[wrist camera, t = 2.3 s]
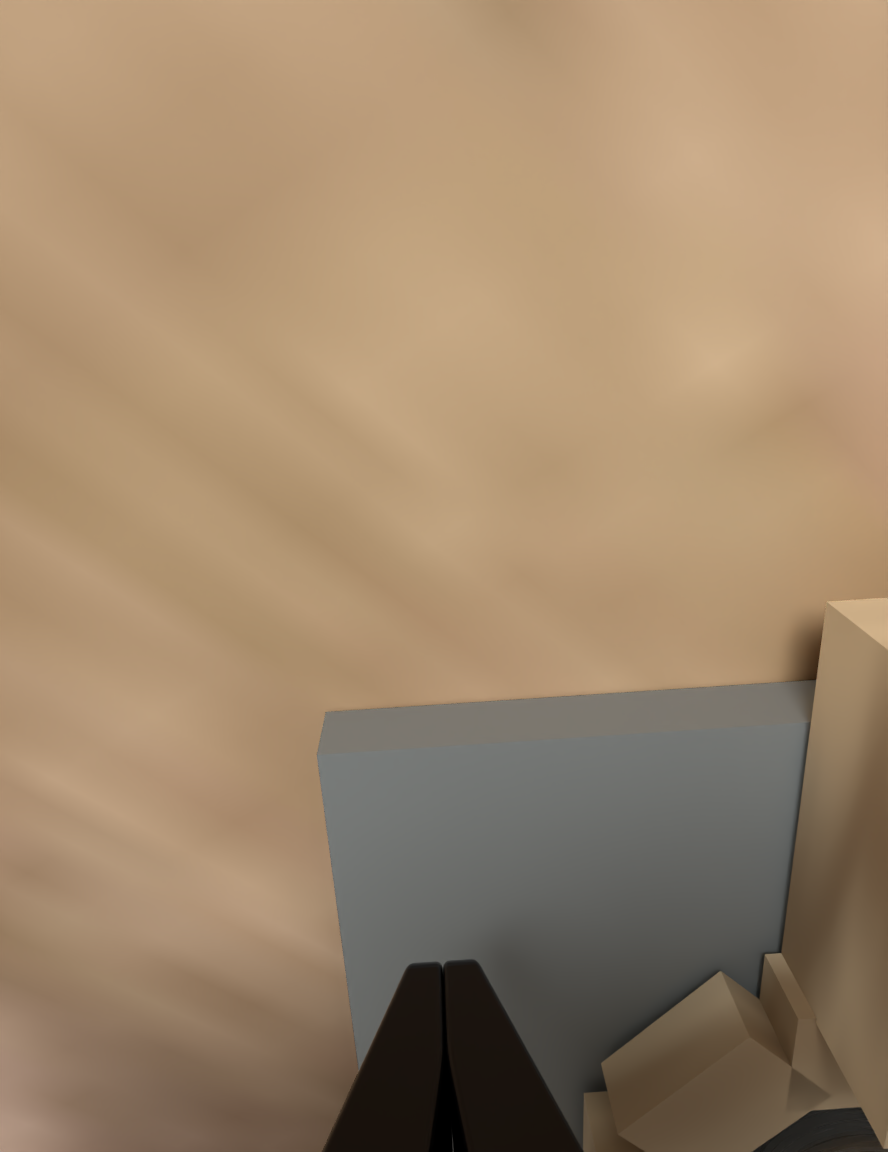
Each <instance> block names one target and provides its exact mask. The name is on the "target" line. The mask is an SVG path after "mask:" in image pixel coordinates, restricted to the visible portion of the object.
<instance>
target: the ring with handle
mask: <svg viewBox="0 0 888 1152" xmlns="http://www.w3.org/2000/svg"><path fill="white" fill-rule="evenodd" d="M601 1066H602V1070H603V1074H604V1078H605V1083H606V1087H607V1091H604V1092H590V1093H584V1114H583V1151H584V1152H752V1151H754V1150H755V1149H757V1148H758V1147H759V1146H761V1145H762V1144H764V1143H765V1142H767V1141H768V1140H770V1139H771V1138H772V1137H774V1136H775V1135H777V1134H778V1133H780V1132H781V1131H783V1130H784V1129H785V1128H787V1127H788V1126H790V1125H791V1124H793V1123H794V1122H796V1121H797V1120H799V1119H800V1118H801V1117H803V1116H804V1115H806V1114H807V1113H809V1112H810V1111H813V1110H827V1109H841V1108H855V1107H861V1108H862V1110H863V1112H864V1114H865V1115H866V1117H867V1119H868V1121H869V1123H870V1125H871V1127H872V1128H873V1130H874V1132H875V1134H876V1136H877V1138H878V1140H879V1141H880V1143H881V1145H882V1147H883V1149H888V598H875V599H860V600H844V601H828V602H826V609H825V617H824V625H823V633H822V640H821V648H820V656H819V664H818V671H817V679H816V687H815V695H814V703H813V710H812V718H811V726H810V734H809V741H808V749H807V757H806V765H805V772H804V780H803V788H802V796H801V804H800V811H799V819H798V827H797V835H796V842H795V850H794V858H793V866H792V874H791V881H790V889H789V897H788V905H787V912H786V920H785V928H784V936H783V943H782V951H781V953H775V954H765V956H764V965H763V973H762V982H761V990H760V999H758V998H757V997H755V996H754V995H753V994H751V993H750V992H749V991H747V990H746V989H745V988H743V987H742V986H741V985H739V984H738V983H737V982H735V981H734V980H732V979H731V978H730V977H728V976H727V975H726V974H724V973H723V972H722V971H720V972H718V973H717V974H716V975H714V976H713V977H712V978H711V979H709V980H708V981H707V982H705V983H704V984H703V985H701V986H700V987H699V988H698V989H696V990H695V991H694V992H692V993H691V994H690V995H689V996H687V997H686V998H685V999H683V1000H682V1001H681V1002H680V1003H678V1004H677V1005H676V1006H674V1007H673V1008H672V1009H670V1010H669V1011H668V1012H667V1013H665V1014H664V1015H663V1016H661V1017H660V1018H659V1019H658V1020H656V1021H655V1022H654V1023H652V1024H651V1025H650V1026H648V1027H647V1028H646V1029H645V1030H643V1031H642V1032H641V1033H639V1034H638V1035H637V1036H636V1037H634V1038H633V1039H632V1040H630V1041H629V1042H628V1043H626V1044H625V1045H624V1046H623V1047H621V1048H620V1049H619V1050H617V1051H616V1052H615V1053H614V1054H612V1055H611V1056H610V1057H608V1058H607V1059H606V1060H605V1061H603V1062H602V1063H601Z"/></svg>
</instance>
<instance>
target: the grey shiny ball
mask: <svg viewBox="0 0 888 1152" xmlns="http://www.w3.org/2000/svg"><path fill="white" fill-rule="evenodd" d="M752 1152H888V1149H883V1147H882V1145H881V1143H880V1141H879V1140H878V1138H877V1136H876V1134H875V1132H874V1130H873V1128H872V1127H871V1125H870V1123H869V1121H868V1119H867V1117H866V1115H865V1114H864V1112H863V1110H862V1108H861V1107H855V1108H841V1109H827V1110H813V1111H810V1112H809V1113H807V1114H806V1115H804V1116H803V1117H801V1118H800V1119H799V1120H797V1121H796V1122H794V1123H793V1124H791V1125H790V1126H788V1127H787V1128H785V1129H784V1130H783V1131H781V1132H780V1133H778V1134H777V1135H775V1136H774V1137H772V1138H771V1139H770V1140H768V1141H767V1142H765V1143H764V1144H762V1145H761V1146H759V1147H758V1148H757V1149H755V1150H754V1151H752Z"/></svg>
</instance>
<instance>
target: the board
mask: <svg viewBox="0 0 888 1152" xmlns="http://www.w3.org/2000/svg"><path fill="white" fill-rule="evenodd" d="M815 687H816V680H808V681H793V682H777V683H762V684H747V685H731V686H716V687H701V688H686V689H670V690H655V691H640V692H625V693H609V694H594V695H579V696H563V697H548V698H533V699H518V700H502V701H487V702H472V703H457V704H441V705H426V706H411V707H395V708H380V709H365V710H350V711H334V712H326V714H325V718H324V723H323V728H322V733H321V738H320V742H319V747H318V752H317V759H318V767H319V774H320V782H321V790H322V797H323V805H324V812H325V820H326V827H327V835H328V842H329V850H330V857H331V865H332V873H333V880H334V888H335V895H336V903H337V910H338V918H339V925H340V933H341V940H342V948H343V956H344V963H345V971H346V978H347V986H348V993H349V1001H350V1008H351V1016H352V1023H353V1031H354V1039H355V1046H356V1054H357V1061H358V1069H360V1067H361V1065H362V1063H363V1061H364V1059H365V1056H366V1054H367V1052H368V1050H369V1048H370V1045H371V1043H372V1041H373V1039H374V1037H375V1034H376V1032H377V1030H378V1028H379V1026H380V1024H381V1021H382V1019H383V1017H384V1015H385V1013H386V1010H387V1008H388V1006H389V1004H390V1002H391V999H392V997H393V995H394V993H395V991H396V989H397V986H398V984H399V982H400V980H401V978H402V975H403V973H404V971H405V969H406V968H407V966H408V965H410V964H411V963H420V962H434V961H437V962H439V963H441V965H442V967H443V965H444V963H445V962H446V961H449V960H463V959H475V960H476V961H477V962H478V963H479V964H480V965H481V967H482V969H483V971H484V972H485V974H486V976H487V978H488V980H489V981H490V983H491V985H492V987H493V989H494V990H495V992H496V994H497V996H498V998H499V999H500V1001H501V1003H502V1005H503V1007H504V1008H505V1010H506V1012H507V1014H508V1016H509V1017H510V1019H511V1021H512V1023H513V1025H514V1026H515V1028H516V1030H517V1032H518V1034H519V1035H520V1037H521V1039H522V1041H523V1043H524V1044H525V1046H526V1048H527V1050H528V1052H529V1053H530V1055H531V1057H532V1059H533V1061H534V1062H535V1064H536V1066H537V1068H538V1070H539V1071H540V1073H541V1075H542V1077H543V1079H544V1080H545V1082H546V1084H547V1086H548V1088H549V1089H550V1091H551V1093H552V1095H553V1097H554V1098H555V1100H556V1102H557V1104H558V1106H559V1107H560V1109H561V1111H562V1113H563V1115H564V1116H565V1118H566V1120H567V1122H568V1124H569V1125H570V1127H571V1129H572V1131H573V1133H574V1134H575V1136H576V1138H577V1140H578V1142H579V1143H580V1145H581V1147H582V1149H583V1114H584V1093H590V1092H604V1091H607V1087H606V1083H605V1078H604V1074H603V1070H602V1066H601V1063H602V1062H603V1061H605V1060H606V1059H607V1058H608V1057H610V1056H611V1055H612V1054H614V1053H615V1052H616V1051H617V1050H619V1049H620V1048H621V1047H623V1046H624V1045H625V1044H626V1043H628V1042H629V1041H630V1040H632V1039H633V1038H634V1037H636V1036H637V1035H638V1034H639V1033H641V1032H642V1031H643V1030H645V1029H646V1028H647V1027H648V1026H650V1025H651V1024H652V1023H654V1022H655V1021H656V1020H658V1019H659V1018H660V1017H661V1016H663V1015H664V1014H665V1013H667V1012H668V1011H669V1010H670V1009H672V1008H673V1007H674V1006H676V1005H677V1004H678V1003H680V1002H681V1001H682V1000H683V999H685V998H686V997H687V996H689V995H690V994H691V993H692V992H694V991H695V990H696V989H698V988H699V987H700V986H701V985H703V984H704V983H705V982H707V981H708V980H709V979H711V978H712V977H713V976H714V975H716V974H717V973H718V972H720V971H722V972H723V973H724V974H726V975H727V976H728V977H730V978H731V979H732V980H734V981H735V982H737V983H738V984H739V985H741V986H742V987H743V988H745V989H746V990H747V991H749V992H750V993H751V994H753V995H754V996H755V997H757V998H758V999H760V990H761V982H762V973H763V965H764V956H765V954H775V953H781V951H782V943H783V936H784V928H785V920H786V912H787V905H788V897H789V889H790V881H791V874H792V866H793V858H794V850H795V842H796V835H797V827H798V819H799V811H800V804H801V796H802V788H803V780H804V772H805V765H806V757H807V749H808V741H809V734H810V726H811V718H812V710H813V703H814V695H815ZM452 1142H453V1138H452Z"/></svg>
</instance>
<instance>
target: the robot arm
mask: <svg viewBox="0 0 888 1152" xmlns="http://www.w3.org/2000/svg"><path fill="white" fill-rule="evenodd" d="M452 1138H453V1142H452ZM322 1152H584V1151H583V1149H582V1147H581V1145H580V1143H579V1142H578V1140H577V1138H576V1136H575V1134H574V1133H573V1131H572V1129H571V1127H570V1125H569V1124H568V1122H567V1120H566V1118H565V1116H564V1115H563V1113H562V1111H561V1109H560V1107H559V1106H558V1104H557V1102H556V1100H555V1098H554V1097H553V1095H552V1093H551V1091H550V1089H549V1088H548V1086H547V1084H546V1082H545V1080H544V1079H543V1077H542V1075H541V1073H540V1071H539V1070H538V1068H537V1066H536V1064H535V1062H534V1061H533V1059H532V1057H531V1055H530V1053H529V1052H528V1050H527V1048H526V1046H525V1044H524V1043H523V1041H522V1039H521V1037H520V1035H519V1034H518V1032H517V1030H516V1028H515V1026H514V1025H513V1023H512V1021H511V1019H510V1017H509V1016H508V1014H507V1012H506V1010H505V1008H504V1007H503V1005H502V1003H501V1001H500V999H499V998H498V996H497V994H496V992H495V990H494V989H493V987H492V985H491V983H490V981H489V980H488V978H487V976H486V974H485V972H484V971H483V969H482V967H481V965H480V964H479V963H478V962H477V961H476V960H475V959H463V960H449V961H446V962H445V963H444V965H443V967H442V965H441V963H439V962H437V961H434V962H420V963H411V964H410V965H408V966H407V968H406V969H405V971H404V973H403V975H402V978H401V980H400V982H399V984H398V986H397V989H396V991H395V993H394V995H393V997H392V999H391V1002H390V1004H389V1006H388V1008H387V1010H386V1013H385V1015H384V1017H383V1019H382V1021H381V1024H380V1026H379V1028H378V1030H377V1032H376V1034H375V1037H374V1039H373V1041H372V1043H371V1045H370V1048H369V1050H368V1052H367V1054H366V1056H365V1059H364V1061H363V1063H362V1065H361V1067H360V1069H359V1072H358V1074H357V1076H356V1078H355V1080H354V1083H353V1085H352V1087H351V1089H350V1091H349V1094H348V1096H347V1098H346V1100H345V1102H344V1104H343V1107H342V1109H341V1111H340V1113H339V1115H338V1118H337V1120H336V1122H335V1124H334V1126H333V1128H332V1131H331V1133H330V1135H329V1137H328V1139H327V1142H326V1144H325V1146H324V1148H323V1150H322Z"/></svg>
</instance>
